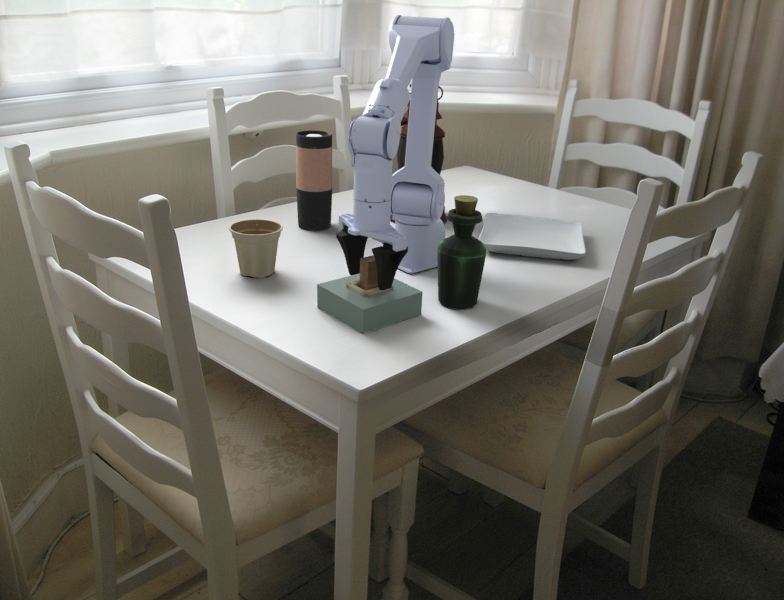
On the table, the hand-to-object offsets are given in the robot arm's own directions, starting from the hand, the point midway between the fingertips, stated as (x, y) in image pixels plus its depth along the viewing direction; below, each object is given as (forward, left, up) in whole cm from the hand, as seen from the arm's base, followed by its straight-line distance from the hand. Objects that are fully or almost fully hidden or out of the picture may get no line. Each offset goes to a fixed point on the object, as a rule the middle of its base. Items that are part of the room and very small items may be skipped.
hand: (369, 280), depth 113 cm
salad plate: (-49, -7, -6) cm, 50 cm away
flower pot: (+6, -25, -5) cm, 26 cm away
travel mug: (-18, -42, -5) cm, 46 cm away
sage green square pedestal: (0, 0, -5) cm, 5 cm away
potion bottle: (-14, +6, -5) cm, 16 cm away
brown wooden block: (0, 0, -4) cm, 4 cm away
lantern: (-41, -34, -5) cm, 54 cm away
